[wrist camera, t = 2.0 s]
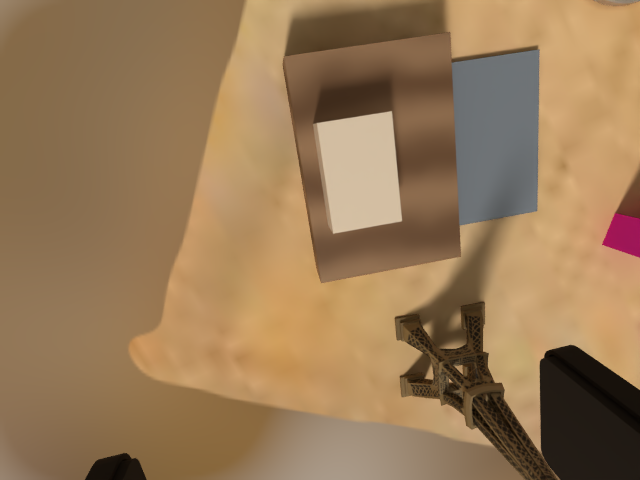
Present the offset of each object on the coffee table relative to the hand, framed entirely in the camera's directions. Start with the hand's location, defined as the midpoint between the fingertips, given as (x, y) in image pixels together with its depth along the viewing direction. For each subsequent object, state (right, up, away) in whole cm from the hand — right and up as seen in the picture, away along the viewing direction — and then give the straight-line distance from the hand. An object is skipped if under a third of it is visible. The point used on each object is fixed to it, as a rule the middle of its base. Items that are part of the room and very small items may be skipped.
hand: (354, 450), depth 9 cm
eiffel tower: (+14, -8, +36) cm, 40 cm away
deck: (+4, +12, +29) cm, 32 cm away
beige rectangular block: (+2, +11, +24) cm, 26 cm away
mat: (+17, +15, +30) cm, 37 cm away
